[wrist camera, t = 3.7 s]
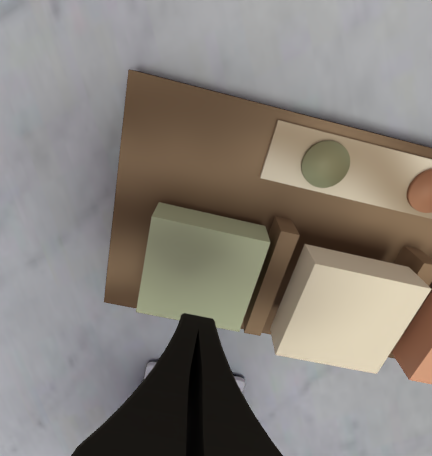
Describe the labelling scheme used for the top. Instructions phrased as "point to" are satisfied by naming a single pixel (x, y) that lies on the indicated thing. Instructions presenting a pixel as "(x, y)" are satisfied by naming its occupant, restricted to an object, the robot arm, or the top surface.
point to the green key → (201, 265)
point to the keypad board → (264, 186)
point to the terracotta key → (417, 346)
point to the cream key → (345, 309)
